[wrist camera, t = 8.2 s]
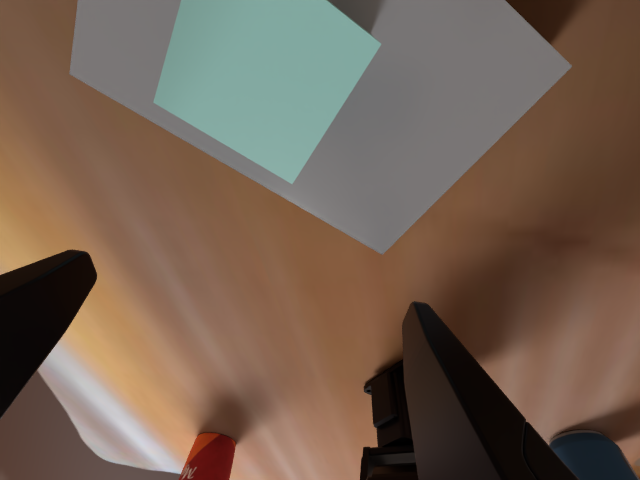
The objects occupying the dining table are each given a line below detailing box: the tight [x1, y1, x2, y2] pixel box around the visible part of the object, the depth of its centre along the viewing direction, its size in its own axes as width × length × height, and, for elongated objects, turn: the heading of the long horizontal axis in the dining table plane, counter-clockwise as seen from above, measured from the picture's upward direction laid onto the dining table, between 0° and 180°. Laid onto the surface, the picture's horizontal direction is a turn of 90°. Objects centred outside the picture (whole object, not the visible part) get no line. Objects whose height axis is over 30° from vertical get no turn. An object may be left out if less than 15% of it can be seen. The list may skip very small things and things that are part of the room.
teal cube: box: [153, 0, 381, 184], centre depth 11 cm, size 5×5×5 cm
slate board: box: [70, 0, 572, 254], centre depth 14 cm, size 18×12×2 cm, turn 58°
